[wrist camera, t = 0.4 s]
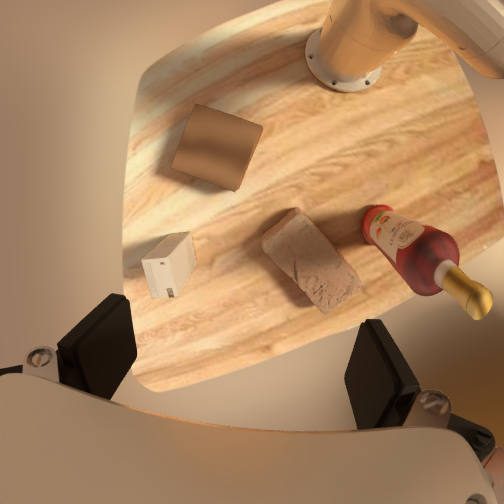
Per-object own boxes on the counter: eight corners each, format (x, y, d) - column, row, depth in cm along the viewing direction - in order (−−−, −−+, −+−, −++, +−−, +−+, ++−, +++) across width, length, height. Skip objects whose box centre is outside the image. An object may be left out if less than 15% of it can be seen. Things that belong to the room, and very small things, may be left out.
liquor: (373, 253, 44) (460, 356, 18) (349, 221, 43) (438, 307, 16) (404, 226, 42) (514, 303, 16) (382, 192, 41) (500, 244, 14)
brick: (258, 238, 45) (256, 247, 41) (296, 203, 43) (299, 208, 39) (322, 304, 49) (326, 318, 44) (358, 274, 46) (366, 286, 42)
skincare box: (168, 233, 46) (137, 257, 35) (193, 230, 46) (167, 254, 34) (175, 267, 48) (148, 299, 37) (199, 265, 47) (177, 298, 36)
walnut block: (204, 109, 39) (195, 103, 35) (263, 129, 40) (261, 125, 35) (181, 166, 43) (171, 167, 38) (239, 188, 43) (234, 192, 38)
